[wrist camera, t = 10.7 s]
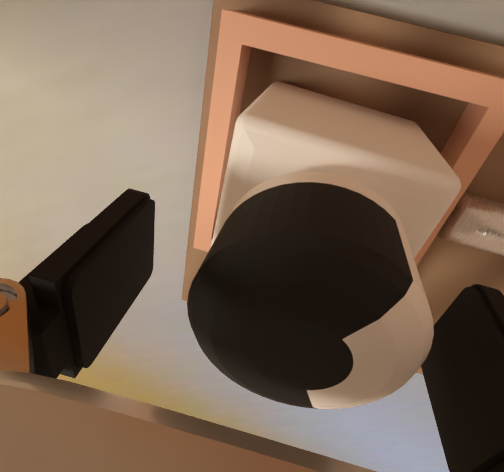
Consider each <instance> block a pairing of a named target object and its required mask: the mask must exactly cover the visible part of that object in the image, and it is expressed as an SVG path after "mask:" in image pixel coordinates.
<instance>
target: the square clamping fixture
mask: <svg viewBox="0 0 504 472" xmlns="http://www.w3.org/2000/svg"><path fill="white" fill-rule="evenodd" d="M274 82H282V83H286V84H289V85H292V86H296V87H299V88H303V89H306V90H309V91H313V92H316V93H320V94H323V95H326V96H330V97H333V98H336V99H340V100H343V101H347V102H350V103H353V104H357V105H360V106H363V107H367V108H370V109H374V110H377V111H380V112H384V113H387V114H390V115H394V116H397V117H401V118H404V119H407V120H411V121H414V122H415V123H417V125H418V126H419V127H420V128H421V130H422V131H423V132H424V134H425V135H426V136H427V137H428V139H429V140H430V141H431V143H432V144H433V145H434V146H435V148H436V149H437V150H438V152H439V153H440V154H441V156H442V157H443V158H444V159H445V161H446V162H447V163H448V165H449V166H450V167H451V168H452V170H453V171H454V172H455V174H456V175H457V176H458V177H459V179H460V182H461V189H460V192H459V193H458V195H457V196H456V198H455V199H454V201H453V202H452V204H451V205H450V207H449V208H448V210H447V211H446V213H445V214H444V215H443V217H442V218H441V220H440V221H439V223H438V224H437V226H436V227H435V229H434V230H433V232H432V233H431V235H430V236H429V238H428V239H427V241H426V242H425V243H424V245H423V246H422V248H421V249H420V251H419V252H418V254H417V255H416V257H415V258H414V260H415V263H416V266H417V269H418V273H419V276H420V279H421V282H422V285H423V288H424V291H425V294H426V297H427V300H428V303H429V306H430V310H431V314H432V318H433V326H434V325H435V323H436V322H437V321H438V320H439V318H440V317H441V316H442V315H443V313H444V312H445V311H446V310H447V309H448V307H449V306H450V305H451V304H452V302H453V301H454V300H455V299H456V297H457V296H458V295H459V294H460V293H461V291H462V290H463V289H464V288H466V287H471V286H472V285H474V284H480V285H484V286H487V287H491V288H495V289H498V290H500V291H501V293H502V294H503V295H504V47H503V46H499V45H495V44H490V43H486V42H482V41H478V40H474V39H470V38H466V37H462V36H458V35H453V34H449V33H445V32H441V31H437V30H433V29H429V28H425V27H421V26H416V25H412V24H408V23H404V22H400V21H396V20H392V19H388V18H384V17H380V16H375V15H371V14H367V13H363V12H359V11H355V10H351V9H347V8H343V7H338V6H334V5H330V4H326V3H322V2H318V1H314V0H214V3H213V13H212V22H211V31H210V41H209V50H208V59H207V69H206V78H205V87H204V97H203V106H202V115H201V125H200V134H199V143H198V153H197V162H196V171H195V181H194V190H193V199H192V209H191V218H190V227H189V236H188V246H187V255H186V264H185V274H184V283H183V292H182V300H185V301H188V293H189V290H190V286H191V283H192V281H193V279H194V277H195V275H196V274H197V272H198V270H199V268H200V266H201V264H202V263H203V261H204V259H205V257H206V255H207V254H208V252H209V250H210V248H211V244H212V239H213V234H214V229H215V224H216V219H217V214H218V209H219V204H220V199H221V193H222V188H223V183H224V178H225V173H226V168H227V163H228V158H229V153H230V148H231V143H232V138H233V133H234V128H235V123H236V120H237V118H238V116H239V115H240V114H241V113H242V112H243V111H245V110H246V109H247V108H248V107H249V106H250V105H251V104H252V103H253V102H254V101H255V100H256V99H257V98H258V97H259V96H260V95H261V94H262V93H263V92H264V91H265V90H266V89H267V88H268V87H269V86H270V85H271V84H272V83H274ZM416 372H417V373H420V374H423V372H422V368H421V366H420V368H419V369H418V370H417V371H416Z"/></svg>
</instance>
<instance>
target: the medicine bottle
mask: <svg viewBox="0 0 504 472" xmlns="http://www.w3.org/2000/svg"><path fill="white" fill-rule="evenodd" d="M460 189H461V182H460V179H459V177H458V176H457V175H456V174H455V172H454V171H453V170H452V168H451V167H450V166H449V165H448V163H447V162H446V161H445V159H444V158H443V157H442V156H441V154H440V153H439V152H438V150H437V149H436V148H435V146H434V145H433V144H432V143H431V141H430V140H429V139H428V137H427V136H426V135H425V134H424V132H423V131H422V130H421V128H420V127H419V126H418V125H417V123H415V122H414V121H411V120H407V119H404V118H401V117H397V116H394V115H390V114H387V113H384V112H380V111H377V110H374V109H370V108H367V107H363V106H360V105H357V104H353V103H350V102H347V101H343V100H340V99H336V98H333V97H330V96H326V95H323V94H320V93H316V92H313V91H309V90H306V89H303V88H299V87H296V86H292V85H289V84H286V83H282V82H274V83H272V84H271V85H270V86H269V87H268V88H267V89H266V90H265V91H264V92H263V93H262V94H261V95H260V96H259V97H258V98H257V99H256V100H255V101H254V102H253V103H252V104H251V105H250V106H249V107H248V108H247V109H246V110H245V111H243V112H242V113H241V114H240V115H239V116H238V118H237V120H236V123H235V128H234V133H233V138H232V143H231V148H230V153H229V158H228V163H227V168H226V173H225V178H224V183H223V188H222V193H221V199H220V204H219V209H218V214H217V219H216V224H215V229H214V234H213V239H212V244H211V248H210V250H209V252H208V254H207V255H206V257H205V259H204V261H203V263H202V264H201V266H200V268H199V270H198V272H197V274H196V275H195V277H194V279H193V281H192V283H191V286H190V290H189V293H188V302H187V307H188V316H189V320H190V324H191V327H192V329H193V332H194V334H195V336H196V339H197V341H198V343H199V345H200V347H201V349H202V350H203V352H204V353H205V355H206V356H207V357H208V359H209V360H210V361H211V362H212V363H213V364H214V365H215V366H216V367H217V368H218V369H219V370H220V371H221V372H222V373H223V374H225V375H226V376H227V377H228V378H230V379H231V380H233V381H234V382H236V383H237V384H239V385H240V386H242V387H244V388H246V389H248V390H249V391H251V392H253V393H256V394H258V395H260V396H263V397H265V398H268V399H271V400H274V401H277V402H281V403H285V404H289V405H294V406H299V407H306V408H316V409H336V408H347V407H354V406H359V405H363V404H367V403H371V402H373V401H376V400H379V399H381V398H383V397H385V396H387V395H389V394H391V393H393V392H395V391H396V390H397V389H399V388H400V387H402V386H403V385H404V384H405V383H406V382H407V381H408V380H409V379H410V378H411V377H412V376H413V375H414V374H415V373H416V371H417V370H418V369H419V368H420V366H421V365H422V364H423V362H424V361H425V359H426V358H427V355H428V353H429V351H430V349H431V345H432V340H433V335H434V329H433V318H432V314H431V310H430V306H429V303H428V300H427V297H426V294H425V291H424V288H423V285H422V282H421V279H420V276H419V273H418V269H417V266H416V263H415V260H414V258H415V257H416V255H417V254H418V252H419V251H420V249H421V248H422V246H423V245H424V243H425V242H426V241H427V239H428V238H429V236H430V235H431V233H432V232H433V230H434V229H435V227H436V226H437V224H438V223H439V221H440V220H441V218H442V217H443V215H444V214H445V213H446V211H447V210H448V208H449V207H450V205H451V204H452V202H453V201H454V199H455V198H456V196H457V195H458V193H459V192H460Z"/></svg>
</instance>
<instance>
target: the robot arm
mask: <svg viewBox="0 0 504 472" xmlns="http://www.w3.org/2000/svg"><path fill="white" fill-rule="evenodd" d="M154 219H155V202H154V200H151V199H150V196H149V194H148V193H144V192H140V191H137V190H133V189H128V190H126V191H125V192H124V193H123V194H121V195H120V196H119V197H118V198H117V199H116V200H115V201H113V202H112V203H111V204H110V205H109V206H108V207H107V208H106V209H104V210H103V211H102V212H101V213H100V214H99V215H98V216H96V217H95V218H94V219H93V220H92V221H91V222H90V223H88V224H86V225H84V226H83V227H82V228H81V229H79V230H78V231H77V232H76V233H75V234H74V235H73V236H71V237H70V238H69V239H68V240H67V241H66V242H65V243H63V244H62V245H61V246H60V247H59V248H58V249H56V250H55V251H54V252H53V253H52V254H51V255H50V256H48V257H47V258H46V259H45V260H44V261H43V262H41V263H40V264H39V265H38V266H37V267H36V268H35V269H33V270H32V271H31V272H30V273H29V274H28V275H27V276H25V277H24V278H23V279H22V280H21V281H20V282H16V281H13V280H10V279H4V278H0V472H376V471H373V470H369V469H366V468H363V467H359V466H356V465H353V464H349V463H346V462H343V461H339V460H336V459H333V458H329V457H326V456H323V455H319V454H316V453H313V452H310V451H306V450H303V449H299V448H296V447H293V446H289V445H286V444H283V443H279V442H276V441H273V440H269V439H266V438H263V437H259V436H256V435H253V434H249V433H246V432H243V431H239V430H236V429H233V428H229V427H226V426H222V425H219V424H216V423H212V422H209V421H205V420H202V419H199V418H195V417H192V416H188V415H185V414H182V413H178V412H175V411H171V410H168V409H165V408H161V407H158V406H155V405H151V404H148V403H144V402H141V401H138V400H134V399H130V398H127V397H123V396H119V395H116V394H112V393H109V392H105V391H101V390H98V389H94V388H90V387H87V386H83V385H80V384H76V383H72V382H68V381H64V380H59V379H56V378H57V377H58V376H59V374H62V375H65V376H69V377H72V378H76V376H77V375H78V373H79V372H80V370H81V369H82V367H84V368H88V367H89V366H90V365H91V364H92V363H93V361H94V360H95V358H96V357H97V355H98V354H99V352H100V351H101V349H102V348H103V346H104V345H105V343H106V342H107V340H108V339H109V337H110V336H111V334H112V333H113V331H114V330H115V329H116V327H117V326H118V324H119V323H120V321H121V320H122V318H123V317H124V315H125V314H126V312H127V311H128V309H129V308H130V306H131V305H132V303H133V302H134V300H135V299H136V297H137V296H138V294H139V293H140V291H141V290H142V288H143V287H144V285H145V284H146V282H147V281H148V279H149V278H150V276H151V274H152V270H153V254H154ZM433 329H434V335H433V340H432V345H431V349H430V351H429V353H428V355H427V358H426V359H425V361H424V362H423V364H422V365H421V368H422V372H423V375H424V379H425V383H426V386H427V390H428V394H429V398H430V401H431V405H432V409H433V412H434V416H435V420H436V424H437V427H438V431H439V435H440V438H441V442H442V446H443V449H444V453H445V457H446V461H447V464H448V468H449V471H450V472H504V295H503V294H502V293H501V291H500V290H498V289H495V288H491V287H487V286H484V285H480V284H474V285H472V286H471V287H466V288H464V289H463V290H462V291H461V293H460V294H459V295H458V296H457V297H456V299H455V300H454V301H453V302H452V304H451V305H450V306H449V307H448V309H447V310H446V311H445V312H444V313H443V315H442V316H441V317H440V318H439V320H438V321H437V322H436V323H435V325H434V326H433Z"/></svg>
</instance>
